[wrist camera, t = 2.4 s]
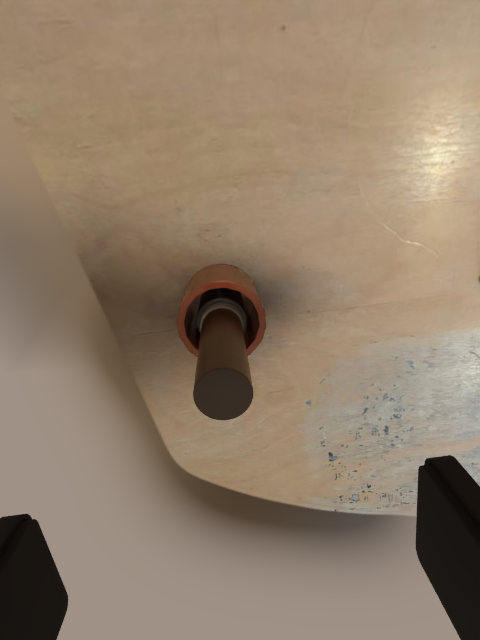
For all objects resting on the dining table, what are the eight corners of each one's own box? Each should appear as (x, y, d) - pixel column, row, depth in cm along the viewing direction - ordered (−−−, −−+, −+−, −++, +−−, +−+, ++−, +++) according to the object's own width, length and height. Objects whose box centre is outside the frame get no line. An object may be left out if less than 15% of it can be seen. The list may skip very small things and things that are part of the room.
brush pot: (191, 338, 33) (185, 369, 28) (179, 269, 31) (170, 287, 26) (261, 329, 33) (269, 358, 28) (253, 259, 31) (261, 275, 26)
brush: (203, 324, 32) (191, 432, 18) (196, 283, 31) (178, 365, 17) (245, 319, 32) (265, 422, 18) (240, 278, 31) (257, 355, 17)
